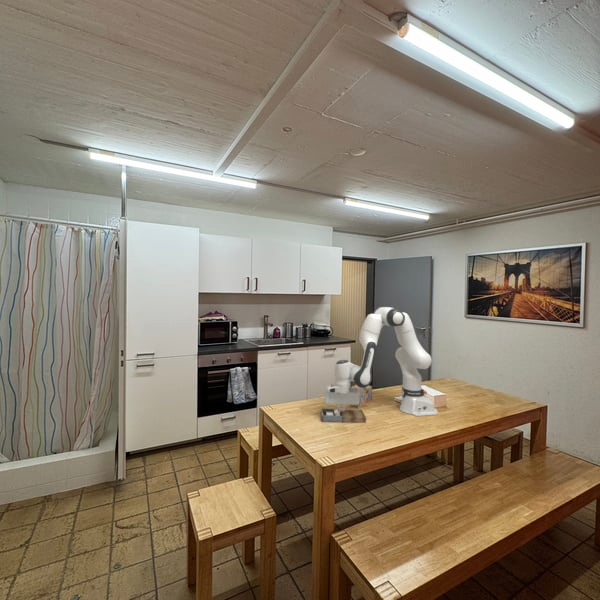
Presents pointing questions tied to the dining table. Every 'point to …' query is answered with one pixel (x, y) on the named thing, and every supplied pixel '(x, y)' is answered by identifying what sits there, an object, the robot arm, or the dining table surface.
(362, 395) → the stack of blocks
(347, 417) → the board
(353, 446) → the dining table surface
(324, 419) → the tray
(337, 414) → the tile
